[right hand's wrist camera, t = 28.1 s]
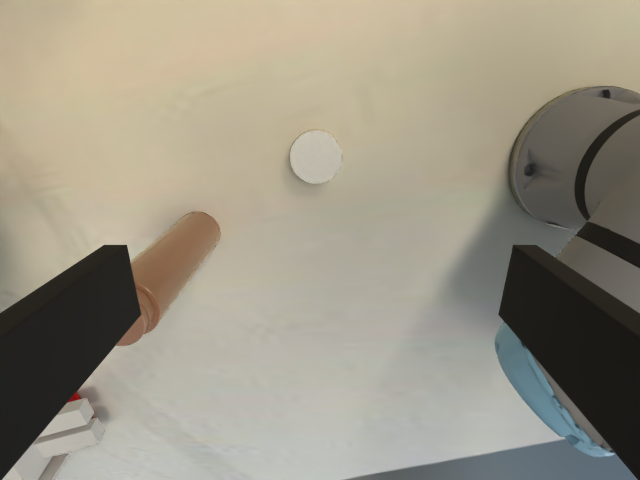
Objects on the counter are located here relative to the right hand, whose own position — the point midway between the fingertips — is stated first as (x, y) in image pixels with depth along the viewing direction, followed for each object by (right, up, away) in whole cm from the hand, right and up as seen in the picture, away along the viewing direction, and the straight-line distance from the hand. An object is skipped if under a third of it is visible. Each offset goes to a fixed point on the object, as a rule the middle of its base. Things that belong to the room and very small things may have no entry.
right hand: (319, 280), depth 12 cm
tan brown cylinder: (-15, +2, +31) cm, 35 cm away
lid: (0, +10, +26) cm, 28 cm away
